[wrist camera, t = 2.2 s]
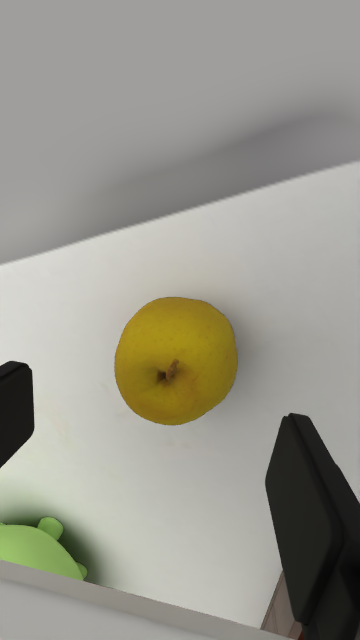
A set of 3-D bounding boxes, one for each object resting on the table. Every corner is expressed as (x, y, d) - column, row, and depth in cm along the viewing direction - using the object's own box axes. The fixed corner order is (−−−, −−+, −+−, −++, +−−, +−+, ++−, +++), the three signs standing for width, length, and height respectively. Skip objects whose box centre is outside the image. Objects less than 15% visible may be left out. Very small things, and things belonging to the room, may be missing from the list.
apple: (218, 272, 16) (218, 298, 9) (244, 361, 18) (263, 451, 10) (127, 300, 18) (59, 343, 10) (158, 381, 19) (119, 472, 11)
